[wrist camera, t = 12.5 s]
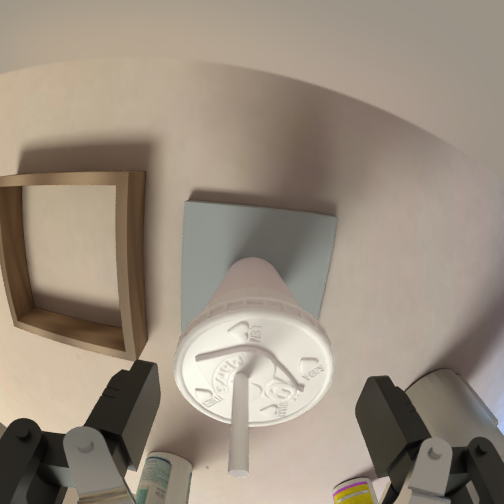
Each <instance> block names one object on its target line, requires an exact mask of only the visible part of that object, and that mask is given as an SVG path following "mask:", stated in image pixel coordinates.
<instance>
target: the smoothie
mask: <svg viewBox="0 0 504 504" xmlns="http://www.w3.org/2000/svg"><path fill="white" fill-rule="evenodd" d="M173 371H174V377H175V380H176V383H177V386H178V388H179V390H180V391H181V393H182V394H183V396H184V397H185V398H186V399H187V401H188V402H189V403H190V404H192V405H193V406H194V407H195V408H196V409H198V410H199V411H200V412H202V413H204V414H205V415H207V416H209V417H211V418H213V419H216V420H218V421H221V422H224V423H228V424H231V428H230V445H229V462H228V475H230V476H232V477H236V478H242V477H246V476H248V475H249V427H256V426H268V425H274V424H278V423H282V422H285V421H288V420H291V419H293V418H295V417H297V416H299V415H301V414H303V413H304V412H306V411H308V410H309V409H311V408H312V407H313V406H314V405H315V404H317V403H318V402H319V401H320V400H321V398H322V397H323V396H324V395H325V393H326V392H327V390H328V389H329V387H330V385H331V382H332V380H333V376H334V372H335V359H334V354H333V351H332V348H331V342H330V340H329V338H328V335H327V333H326V331H325V328H324V327H323V326H322V325H321V324H320V323H319V321H318V320H317V319H316V318H315V317H314V316H313V315H312V314H311V313H309V312H307V311H306V310H304V309H302V308H301V307H300V305H299V304H298V302H297V301H296V299H295V298H294V296H293V295H292V293H291V292H290V290H289V289H288V287H287V286H286V284H285V283H284V281H283V280H282V278H281V277H280V275H279V274H278V272H277V271H276V269H275V268H274V267H273V265H272V264H270V263H269V262H268V261H266V260H264V259H261V258H257V257H247V258H243V259H241V260H239V261H237V262H235V263H234V264H233V265H232V266H231V267H230V268H229V270H228V272H227V273H226V275H225V277H224V278H223V280H222V282H221V283H220V285H219V287H218V288H217V290H216V292H215V293H214V295H213V297H212V298H211V300H210V302H209V303H208V305H207V307H206V308H205V310H203V311H202V312H201V313H200V314H199V315H197V316H196V317H195V318H194V319H192V320H191V321H190V322H189V324H188V325H187V327H186V328H185V330H184V331H183V333H182V334H181V336H180V339H179V342H178V346H177V350H176V353H175V357H174V363H173Z"/></svg>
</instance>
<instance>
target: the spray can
mask: <svg viewBox="0 0 504 504" xmlns="http://www.w3.org/2000/svg"><path fill="white" fill-rule="evenodd" d="M192 470H193V469H192V465H191V463H190V462H189V461H187V460H186V459H184V458H182V457H180V456H177V455H175V454H171V453H167V452H152V453H150V454H149V455H148V456H147V458H146V461H145V465H144V468H143V471H142V475H141V478H140V482H139V485H138V489H137V492H136V496H135V500H136V502H137V504H188V499H189V492H190V484H191V477H192Z"/></svg>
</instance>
